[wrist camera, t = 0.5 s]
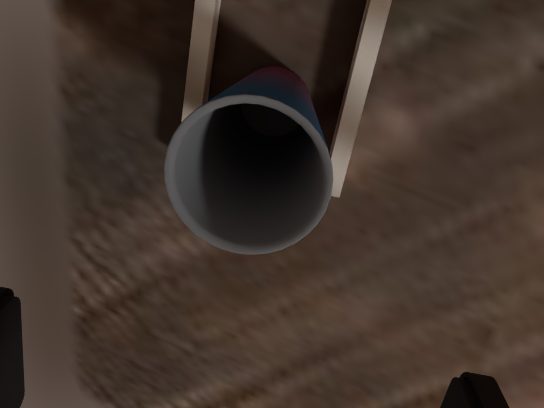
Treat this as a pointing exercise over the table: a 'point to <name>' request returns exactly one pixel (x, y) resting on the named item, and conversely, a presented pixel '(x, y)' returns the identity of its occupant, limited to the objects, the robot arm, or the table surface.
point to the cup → (251, 165)
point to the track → (354, 90)
